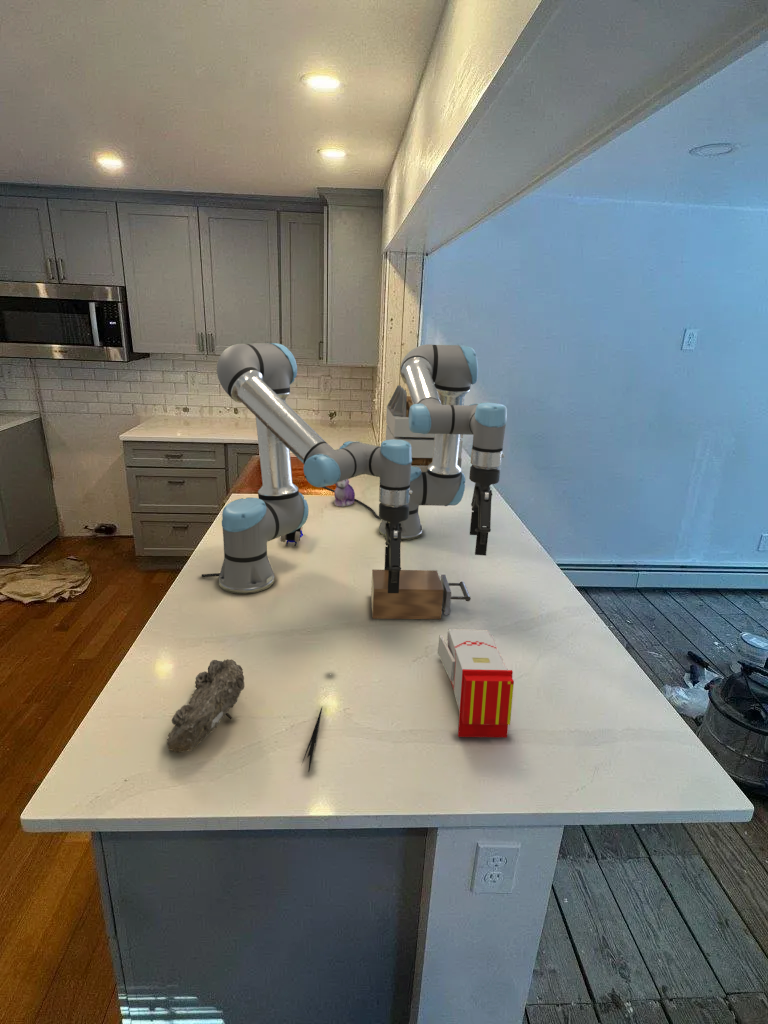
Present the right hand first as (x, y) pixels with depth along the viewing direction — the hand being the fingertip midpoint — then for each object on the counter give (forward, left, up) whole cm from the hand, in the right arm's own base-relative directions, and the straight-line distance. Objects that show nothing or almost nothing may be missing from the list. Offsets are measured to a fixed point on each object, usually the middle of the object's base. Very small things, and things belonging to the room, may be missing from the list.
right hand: (477, 544), depth 149 cm
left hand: (-11, -20, -9) cm, 25 cm away
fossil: (0, -75, -17) cm, 77 cm away
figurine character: (-64, -16, -17) cm, 69 cm away
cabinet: (-9, -17, -17) cm, 26 cm away
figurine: (-85, +21, -17) cm, 89 cm away
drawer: (-5, -12, -16) cm, 21 cm away
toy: (+25, -30, -17) cm, 43 cm away
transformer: (-101, +78, -17) cm, 129 cm away
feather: (+13, -59, -17) cm, 63 cm away
